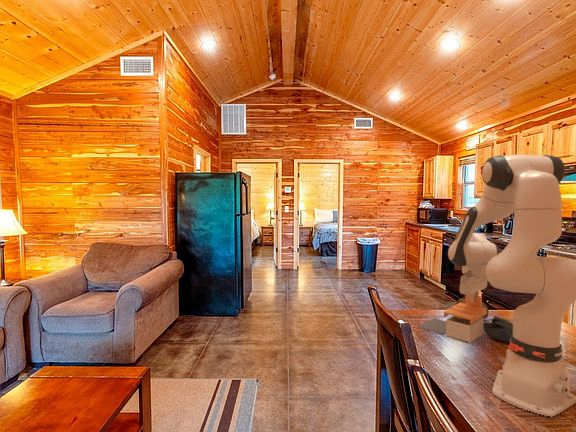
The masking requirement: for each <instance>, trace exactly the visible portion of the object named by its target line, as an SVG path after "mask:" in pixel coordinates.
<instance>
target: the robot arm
mask: <svg viewBox="0 0 576 432" xmlns="http://www.w3.org/2000/svg"><path fill="white" fill-rule="evenodd" d="M565 175H566V167H565V163H564V161H563V160H562V159H561V158H560V157H558V156H554V155H549V154H544V155H538V154H525V153H523V154H511V155H501V154H500V155H494V156H492V157H489V158H487V159H486V160H485V161H484V163H483V166H482V170H481V178H482V181H483V183H484V184H485V185H484V189H483V191H482V195H481V197H480V199H479V200H478V201H477V202H476V204H474V205H473V206H471V207H470V208H469V209H468V210H467V212H466V214H465V216H463V219H462V222H461V224H460V226H459V229H458V231H457V233H456V235H455V237H454V238H453V240H452V242H451V244H450V245H449V247H448V251H447V256H448V260H449V261H450V262H451V264H453V265H455V266H456V267H462V268H461V273H462V274H463V275H461V276H460V279H459V280H460V282H459V294H461V295H468V296H469V301H470V302H472V303H473V302H475V298H474V295H475V296H480V291H482V290H485V289H486V288H487V287H488V283H489V284H490V285H491V287H493V288H494V289H498V290H501V291H507V292H511V293H521V294H533V295H535V296H534V298H533V299H532V300H530V301H528V302H527V303H523V304H521V305H519V306H517V307H516V308H515V310H514V311H513V313H512V324H513V334H512V335H511V339H510V343H509V345H508V349H506V356H505V360H504V364H502V366H501V368H502V369H498V371H497V373H496V377H495V380H494V383H493V386H492V388H491V389H492V391H491V393H492V394H493V395H494V396H495V397H497V398H499V399H500V400H502V401H504V402H506V403H508V404H510V405H511V406H514V407H516V406H517V408H519V409H521V408H522V410H524V411H527V410H528V411H527V412H529V411H531V412H530V413H532V412H534V413H533V414H535V413H537V414H536V415H539V414H541V415H540V416H542V415H544V416H543V417H547V416H550V417H549V418H554V417H556V416H557V414H558V415H560V412H561V413H563V412H564V411H565V410H567V409H568V408H570V407H572V406H573V405H575V404H576V395H575V394H573V393H571V392H570V371H569V368H568V367H567V365H565V363H564V362H563V360H562V358H563V346H562V344H561V332H562V331H561V330H562V325H563V324H562V323H563V322H562V321H563V319H564V315H565V314H566V312H567V310H568V309H569V308H570V307H571V305H572V304H574V303H575V302H576V259H574V258H573V259H572V258H567V257H559V256H558V257H554V256H553V257H552V256H537V255H538V253H539V250H540V249H541V248H542V247H545V246H547V245H550V244H552V243H554V242H555V241H557V240H558V239H559V238H560V237H561V235H562V233H563V231H562V227H563V225H562V224H563V220H562V219H563V218H562V217H563V214H562V213H563V202H562V195H561V189H560V188H561V187H560V183H561V182H562V181H563V179H564V177H565ZM512 214H513V228H512V234H511V238H510V240H509V242H508V243H507V245H506V246H505V248H504V249H503V250H502V251H501V249H500V247H499V246H498V245H497V244H496V243H493V242H491V241H489V240H488V239H487V237H486V234H485V233H484V232H475V231H476V230H477V229H478V228H480V227H482V226H484V225H486V224H490V223H494V222H496V221H500V220H501V221H502V220H504V219H506V218H508V217H509V216H511V215H512ZM545 415H546V416H545ZM555 415H556V416H555ZM553 416H554V417H553Z"/></svg>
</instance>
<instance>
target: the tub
mask: <svg viewBox="0 0 576 432" xmlns="http://www.w3.org/2000/svg"><path fill="white" fill-rule="evenodd" d="M484 320H485V319H484V318H482V317H481V318H480V319H478V320H477V321H476V322H474V323H473V324H470V320H468V319H464V318H460V317H456V316H452V315H451V316H450V317H449V318H446V319H445V321H446V334H445V337H447V336H448V338H450V337H451V339H454V340H457V341H460V342H464V343H467V344H471V343H473V342H474V341H475V340H477V339H478V338H480V337H482V336H483V335H484V325H483V323H484Z"/></svg>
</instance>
